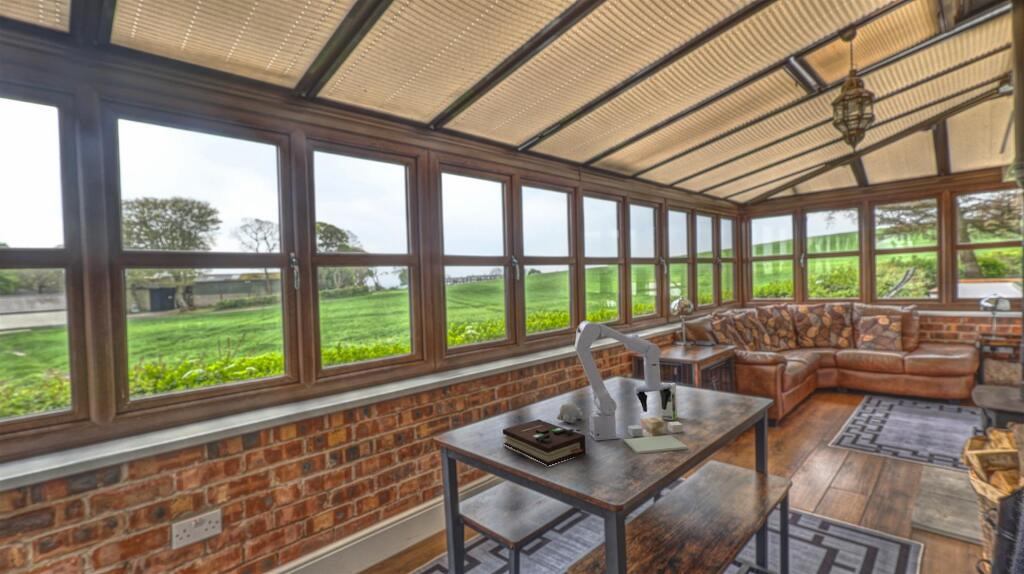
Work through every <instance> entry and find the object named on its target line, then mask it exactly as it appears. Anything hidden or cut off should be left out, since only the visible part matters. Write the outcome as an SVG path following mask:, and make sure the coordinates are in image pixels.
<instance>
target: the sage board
mask: <svg viewBox="0 0 1024 574" xmlns="http://www.w3.org/2000/svg"><path fill="white" fill-rule="evenodd" d="M622 441H623V443H624V444H625V445H626V446H628V447H629V448H630V449H631V450H632V451H633V452H634V453H635V454H637V455H638V454H649V453H650V454H651V453H658V452H659V453H660V452H668V451H670V452H671V451H678V450H679V451H680V450H687V449H688V446H687V445H685V444H684V443H683V442H681V441H680V440H678V439H677V438H676V437H674V436H672V434H668V435H667V434H664V435H653V436H646V437H637V438H636V437H635V438H634V437H633V438H627V439H626V438H624V439H623V440H622Z"/></svg>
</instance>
